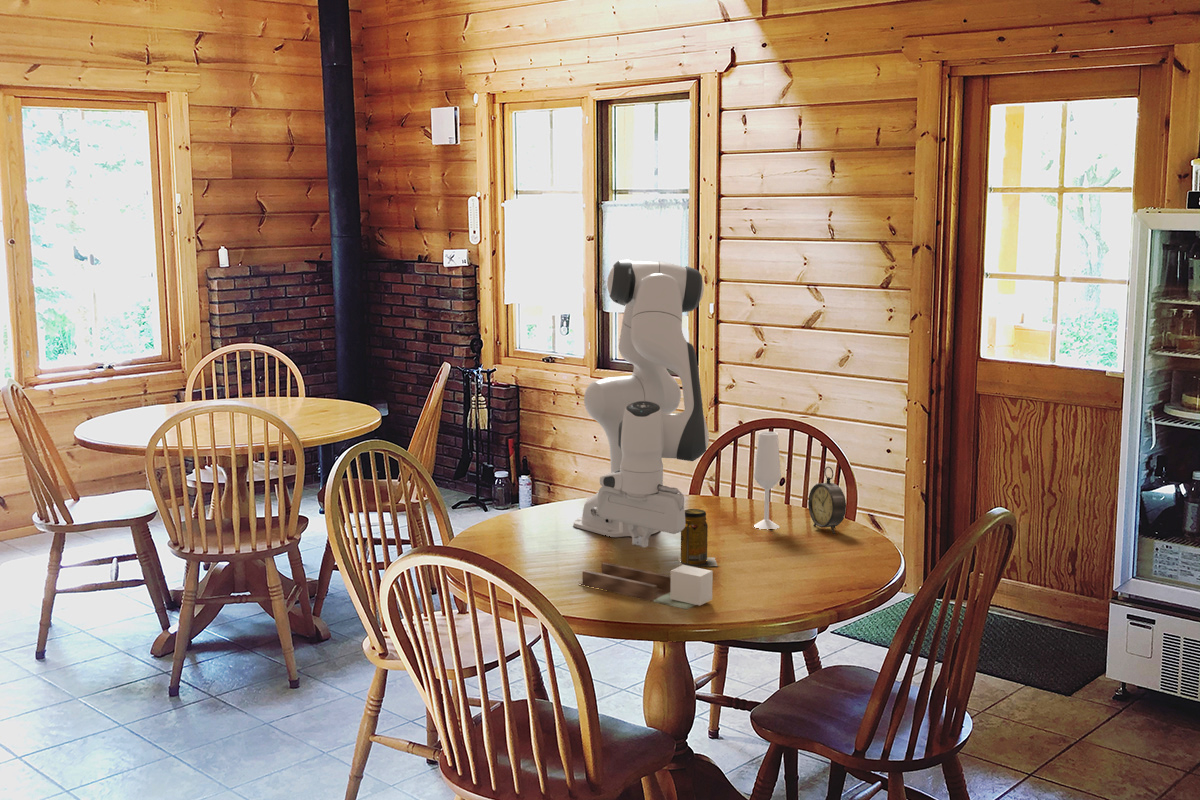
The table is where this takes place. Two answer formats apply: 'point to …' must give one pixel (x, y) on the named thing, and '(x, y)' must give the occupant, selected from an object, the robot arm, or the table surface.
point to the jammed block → (691, 585)
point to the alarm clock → (827, 504)
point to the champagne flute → (767, 471)
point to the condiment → (695, 540)
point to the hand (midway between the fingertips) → (640, 545)
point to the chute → (633, 584)
